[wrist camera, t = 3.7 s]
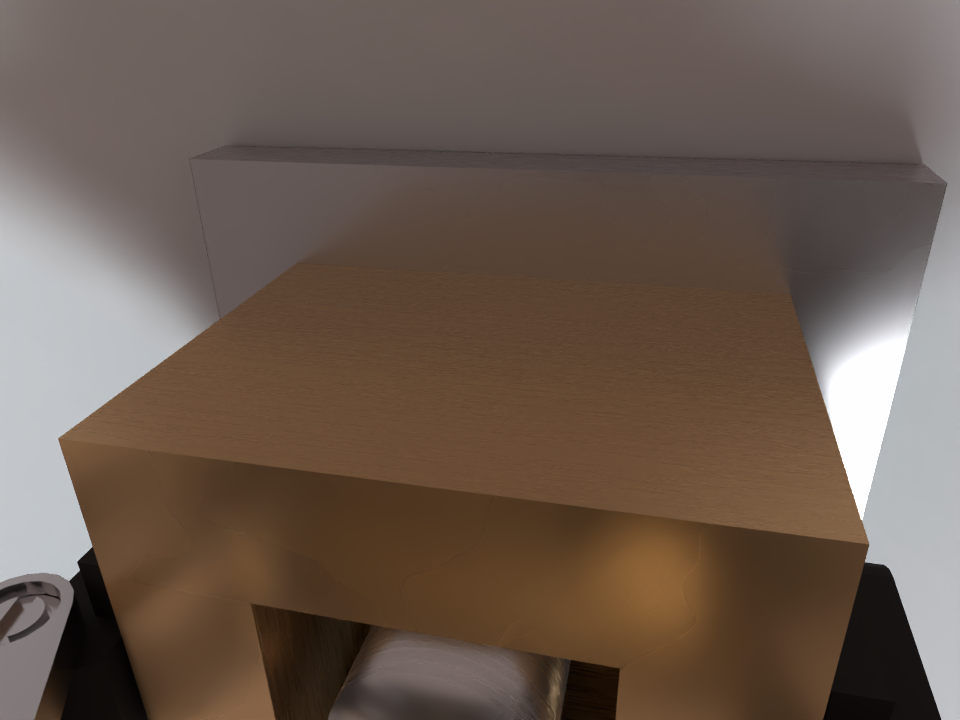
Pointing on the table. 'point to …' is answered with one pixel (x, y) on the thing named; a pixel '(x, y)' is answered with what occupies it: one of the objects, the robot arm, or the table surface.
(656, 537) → the collar
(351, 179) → the stand
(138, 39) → the table surface
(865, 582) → the robot arm
